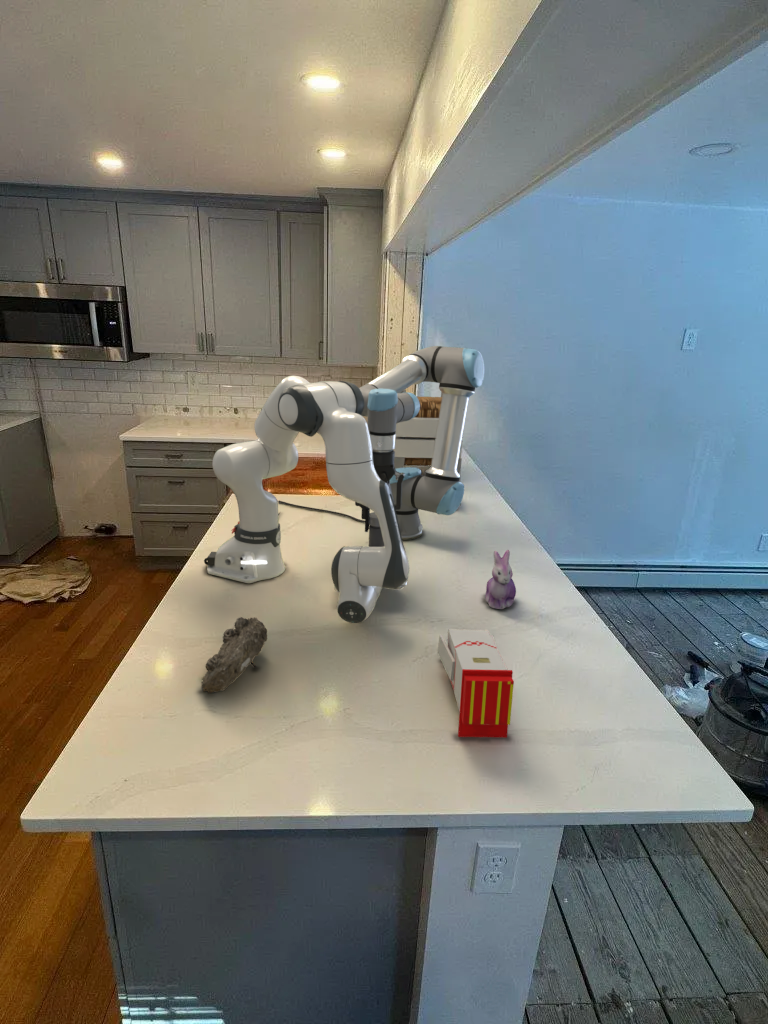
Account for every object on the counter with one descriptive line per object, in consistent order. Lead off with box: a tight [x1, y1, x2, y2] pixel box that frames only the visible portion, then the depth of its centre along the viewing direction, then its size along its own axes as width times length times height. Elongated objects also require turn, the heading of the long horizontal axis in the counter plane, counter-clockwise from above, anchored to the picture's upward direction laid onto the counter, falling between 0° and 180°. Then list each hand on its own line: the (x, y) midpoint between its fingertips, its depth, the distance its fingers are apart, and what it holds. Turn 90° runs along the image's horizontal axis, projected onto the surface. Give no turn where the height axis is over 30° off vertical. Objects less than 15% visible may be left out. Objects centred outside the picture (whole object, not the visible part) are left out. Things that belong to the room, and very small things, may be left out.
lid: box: [368, 511, 380, 527], centre depth 156 cm, size 5×5×2 cm
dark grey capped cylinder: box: [368, 525, 384, 547], centre depth 159 cm, size 4×4×20 cm
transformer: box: [393, 389, 465, 482], centre depth 268 cm, size 34×33×41 cm
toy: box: [437, 628, 515, 738], centre depth 117 cm, size 12×13×30 cm
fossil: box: [201, 616, 268, 694], centre depth 122 cm, size 22×10×15 cm
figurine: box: [484, 549, 517, 610], centre depth 153 cm, size 9×10×15 cm
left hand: (376, 562), depth 161 cm, fingers closed on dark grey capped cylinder, 4 cm apart
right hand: (377, 530), depth 157 cm, fingers closed on lid, 5 cm apart
